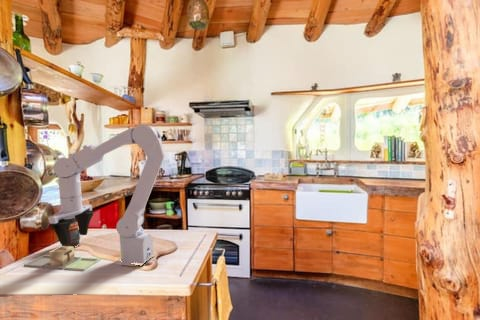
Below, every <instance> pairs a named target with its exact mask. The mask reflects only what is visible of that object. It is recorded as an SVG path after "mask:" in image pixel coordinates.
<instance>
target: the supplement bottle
mask: <svg viewBox="0 0 480 320" xmlns="http://www.w3.org/2000/svg"><path fill="white" fill-rule="evenodd" d="M65 221H66V222H71V223H70V226H69V232H68V237H69V241H68V244H61V246H73V247H75V246H77V245H78V244H80V243H81V242H82V241H81V235H80V233H79V227H78V222H77V220H76V217H75V216H73V217H70V218H67V219H65Z"/></svg>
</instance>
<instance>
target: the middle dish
mask: <svg viewBox="0 0 480 320" xmlns="http://www.w3.org/2000/svg"><path fill="white" fill-rule="evenodd" d="M74 257H75V260H74V261H72V262H70V263H68V264H67V265H65V266H51V265H50V263H49V264H47V265H45V266H44V267H43V269H57V270H65V268H64V267H66V266H68V265H70V264H71V263H73V262H75V261H77V260H78V259H80V258H82V257H81V256H74Z"/></svg>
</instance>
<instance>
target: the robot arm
mask: <svg viewBox="0 0 480 320" xmlns="http://www.w3.org/2000/svg"><path fill="white" fill-rule="evenodd" d="M127 144H137V145H138V146H139V148H141V149H142V151H143V152H144V154H145V156H146V157H147V158H146V161H145V163H144V166H143V168H142V171H141V174H140V176H139V178H138V181H137V184H136V186H135V189H134V192H133V193H132V197H131V200H130V202H129V204H128V205H127V208H126V209H125V211H124V214H123V215H122V217H121V218H120V219H119V220H118V221H117V223H116V231H117V233H118V235H119V245H120V246H119V247H120V259H121V261H122V262H121V261H119V260H118V261H116V262H114V263H115V265H121V266H128V267H129V266H131V267H137V266H136V265H135V264H131V263H134V262H135V263H136V262H137V263H145V262H146V261H147V260H148V259H150V258H151V257H152V256H153V254H154V243H153V242H154V241H153V236H152V235H151V234H150V233H146V232H145V231H144V228H143V227H142V225H143V224H144V222H145V215H144V214H145V211H146V206H147V202H148V201H149V197H150V195H151V193H152V190H153V188H154V185H155V183H156V180H157V178H158V174H159V172H160V169H161V167H162V165H163V161H164V159H165V155H166V154H165V151H164V150H165V149H164V146H163V140H162V136H161V134H160V132H159V131H158V129H157V128H156V127H155V126H152V125H148V124H143V123H141V124H137V125H136V126H135V127H131V128H128V129H126V130H124V131H122V132H120V133H118V134H117V135H115V136H113V137H112V138H109V139H108V140H106V141H104V142H102V143H101V144H98V145H95V144H90V145H89V144H85V145H83V146H82V149H80V150H78V151H76V152H74V153H73V152H71V153H69V154H68V157H60V158H59V159H58V160H56V161H55V162H54V164H53V172H54V173H55V175H56V176H58V177H57V178H58V190H59V203H60V210H59V211H58V212H57V213H55V214H53V215H51V216H49V217H48V221H49V226H50V227H51V229H52V231H54V232H55V235H56V236H57V238H58V239H57V240H58V241H59V244H60V245H62V244H68V241H69V237H68V232H69V226H70V223H71V222H66V221H65V219H67V218H70V217H73V216H75V220H76V222H78V227H79V233H80V236H87V235H88V231H89V227H90V222H91V220H92V218H93V216H94V211H93V205H92V204H84V205H83V197H82V184H81V183H82V182H81V174H82V172H83V171H85V170H87V169H88V168H91V167H92V166H94V165H97V164H98V163H100V162H102V161H103V159H104V155H106V154H108V153H111V152H112V151H114V150H117V149H119V148H121V147H123V146H125V145H127ZM151 259H152V258H151ZM151 259H150V260H151Z"/></svg>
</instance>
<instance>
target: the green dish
mask: <svg viewBox="0 0 480 320" xmlns="http://www.w3.org/2000/svg"><path fill="white" fill-rule="evenodd" d="M100 261H102V259H101V258H97V257H81V258H80V259H78V260H77V261H75V262H73V263H71V264H70V265H68V266H66V267H64V270H69V271H71V270H72V271H84V272H85V271H86V270H88V269H89V268H91V267H93V266H94V265H95V264H97V263H99V262H100Z"/></svg>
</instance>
